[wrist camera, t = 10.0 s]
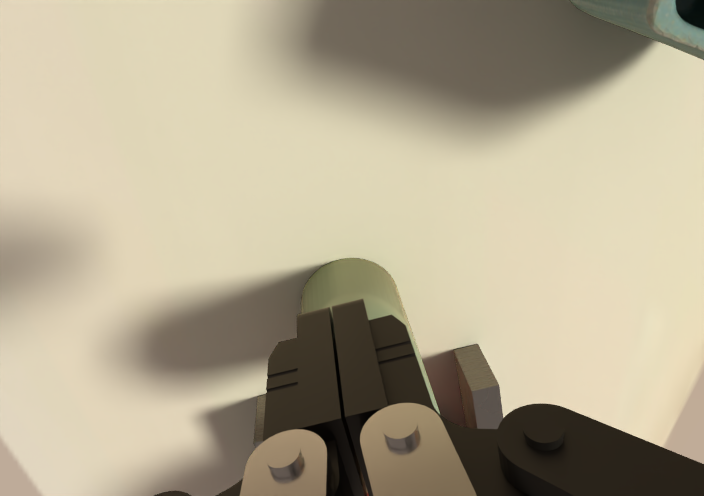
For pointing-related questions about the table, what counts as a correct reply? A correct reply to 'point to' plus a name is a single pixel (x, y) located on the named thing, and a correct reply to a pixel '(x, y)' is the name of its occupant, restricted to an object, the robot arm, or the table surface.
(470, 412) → the lane
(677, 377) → the table surface
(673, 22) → the flower pot
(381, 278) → the jar
